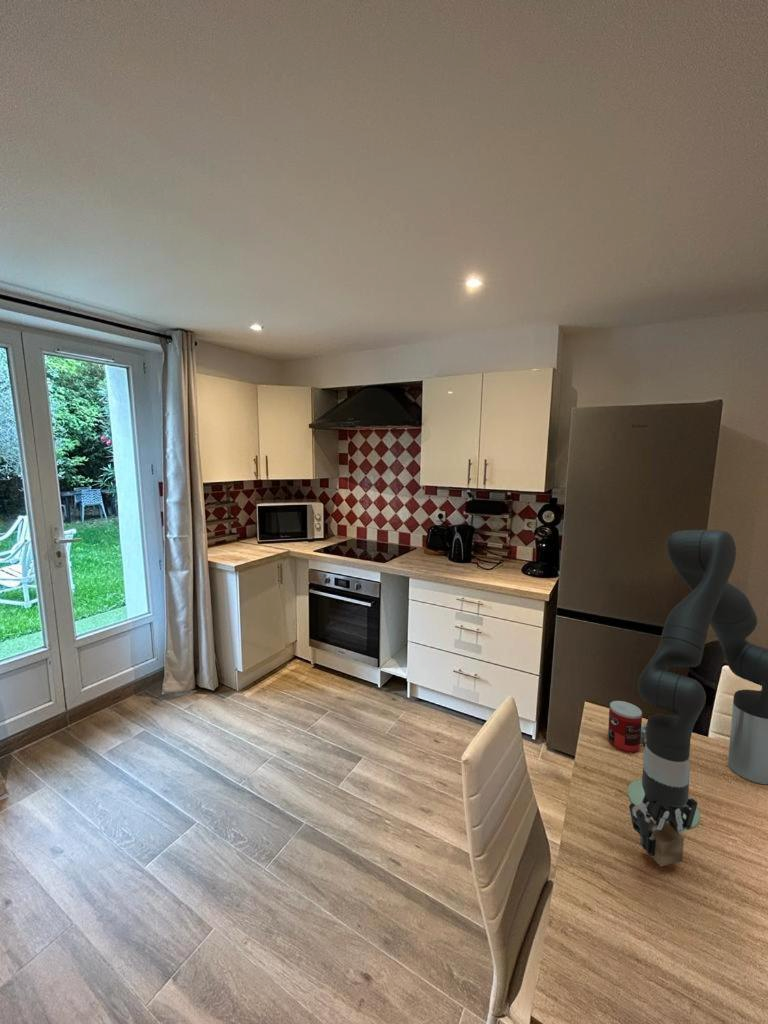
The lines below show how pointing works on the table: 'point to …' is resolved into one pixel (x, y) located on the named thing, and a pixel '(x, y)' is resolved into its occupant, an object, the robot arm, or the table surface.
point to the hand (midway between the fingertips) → (660, 848)
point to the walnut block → (667, 845)
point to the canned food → (624, 726)
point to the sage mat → (638, 794)
